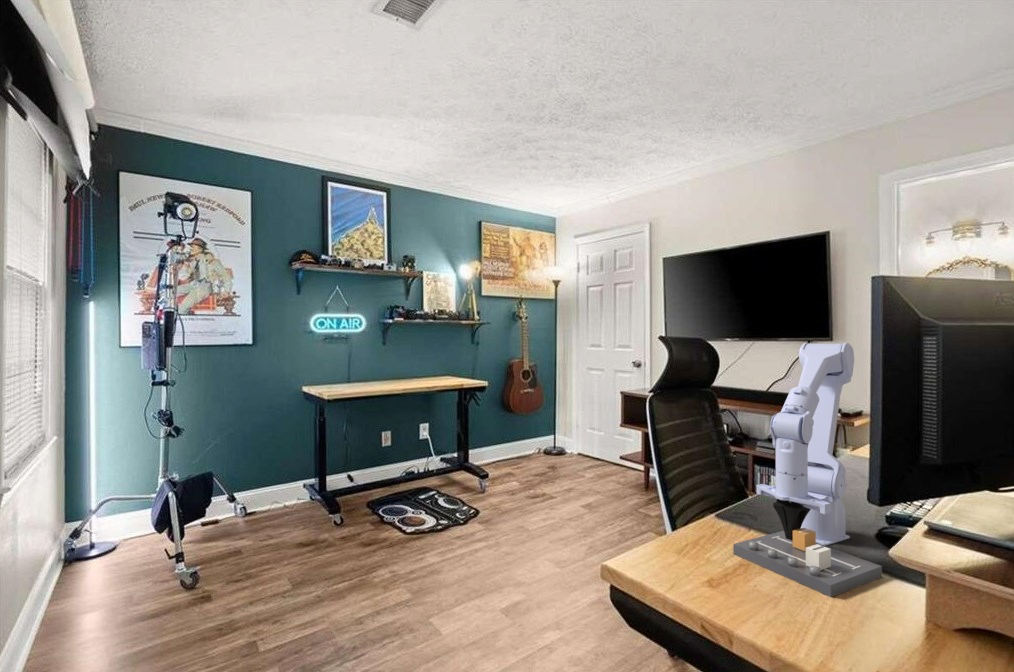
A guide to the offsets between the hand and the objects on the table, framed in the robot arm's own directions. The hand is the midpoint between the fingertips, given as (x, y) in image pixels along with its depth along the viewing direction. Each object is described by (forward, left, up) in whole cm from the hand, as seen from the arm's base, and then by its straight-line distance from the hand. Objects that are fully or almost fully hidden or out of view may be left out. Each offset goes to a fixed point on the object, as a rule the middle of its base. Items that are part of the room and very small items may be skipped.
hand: (791, 538), depth 100 cm
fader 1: (0, +3, -1) cm, 3 cm away
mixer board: (+3, +4, -3) cm, 6 cm away
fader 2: (+6, +9, -1) cm, 11 cm away
